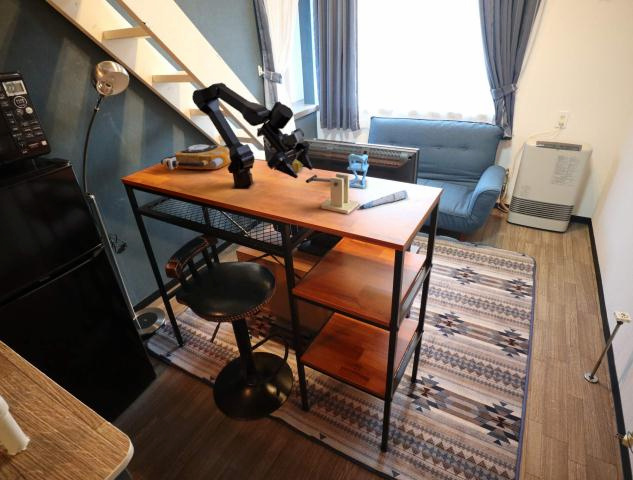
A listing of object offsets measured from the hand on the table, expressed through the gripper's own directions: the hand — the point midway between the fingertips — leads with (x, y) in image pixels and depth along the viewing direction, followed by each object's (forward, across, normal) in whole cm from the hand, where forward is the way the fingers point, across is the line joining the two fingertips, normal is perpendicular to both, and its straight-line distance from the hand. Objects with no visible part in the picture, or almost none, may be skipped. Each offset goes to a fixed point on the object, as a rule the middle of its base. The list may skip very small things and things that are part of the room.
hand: (304, 173), depth 118 cm
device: (-39, +10, +52) cm, 66 cm away
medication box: (-8, +27, +22) cm, 36 cm away
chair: (+14, +22, 0) cm, 26 cm away
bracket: (+16, 0, -3) cm, 17 cm away
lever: (+8, 0, -5) cm, 9 cm away
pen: (+25, +9, -11) cm, 29 cm away
